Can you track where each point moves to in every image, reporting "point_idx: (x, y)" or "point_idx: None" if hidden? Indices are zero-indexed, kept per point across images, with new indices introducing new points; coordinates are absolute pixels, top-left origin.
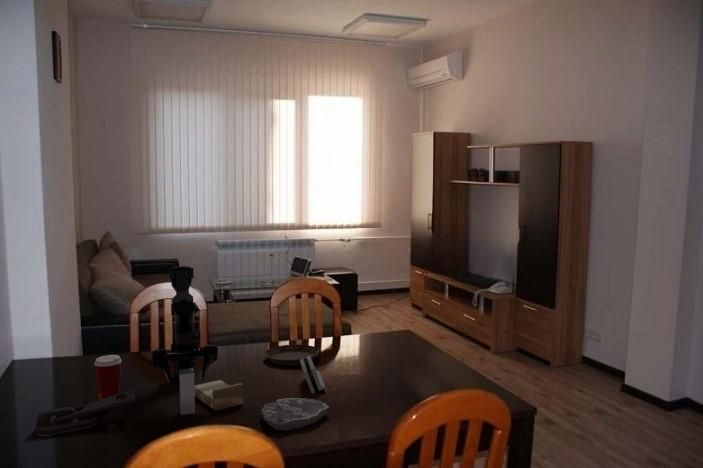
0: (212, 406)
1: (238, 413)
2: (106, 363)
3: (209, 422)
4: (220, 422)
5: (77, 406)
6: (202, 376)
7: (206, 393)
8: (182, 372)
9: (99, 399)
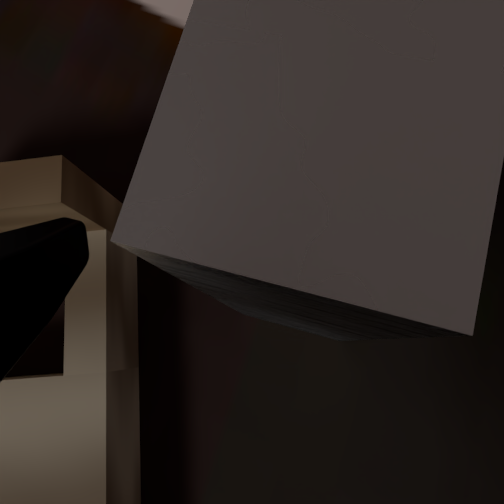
0: (130, 254)
1: (44, 109)
2: None
3: None
4: None
5: None
6: (59, 227)
7: (93, 393)
8: (448, 35)
9: None
